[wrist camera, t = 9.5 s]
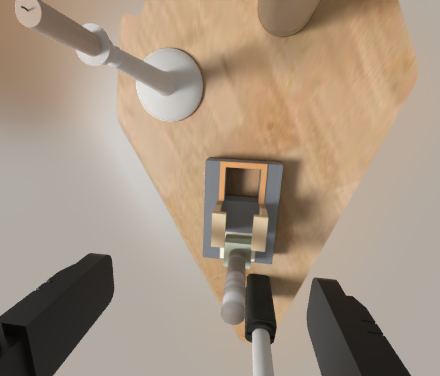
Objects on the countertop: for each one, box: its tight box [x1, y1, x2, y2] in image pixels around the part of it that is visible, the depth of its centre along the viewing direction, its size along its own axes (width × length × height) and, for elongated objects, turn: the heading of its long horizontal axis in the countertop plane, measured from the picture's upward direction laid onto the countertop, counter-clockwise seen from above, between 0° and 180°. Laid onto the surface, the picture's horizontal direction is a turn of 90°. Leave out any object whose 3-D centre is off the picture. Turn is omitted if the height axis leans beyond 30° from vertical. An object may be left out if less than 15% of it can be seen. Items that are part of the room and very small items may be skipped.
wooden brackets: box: [211, 200, 268, 252], centre depth 41 cm, size 6×9×7 cm, turn 87°
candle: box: [245, 274, 277, 376], centre depth 40 cm, size 5×5×25 cm
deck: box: [203, 158, 283, 264], centre depth 46 cm, size 20×14×4 cm
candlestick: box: [15, 0, 203, 122], centre depth 29 cm, size 13×13×30 cm
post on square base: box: [221, 234, 252, 325], centre depth 37 cm, size 5×5×18 cm
